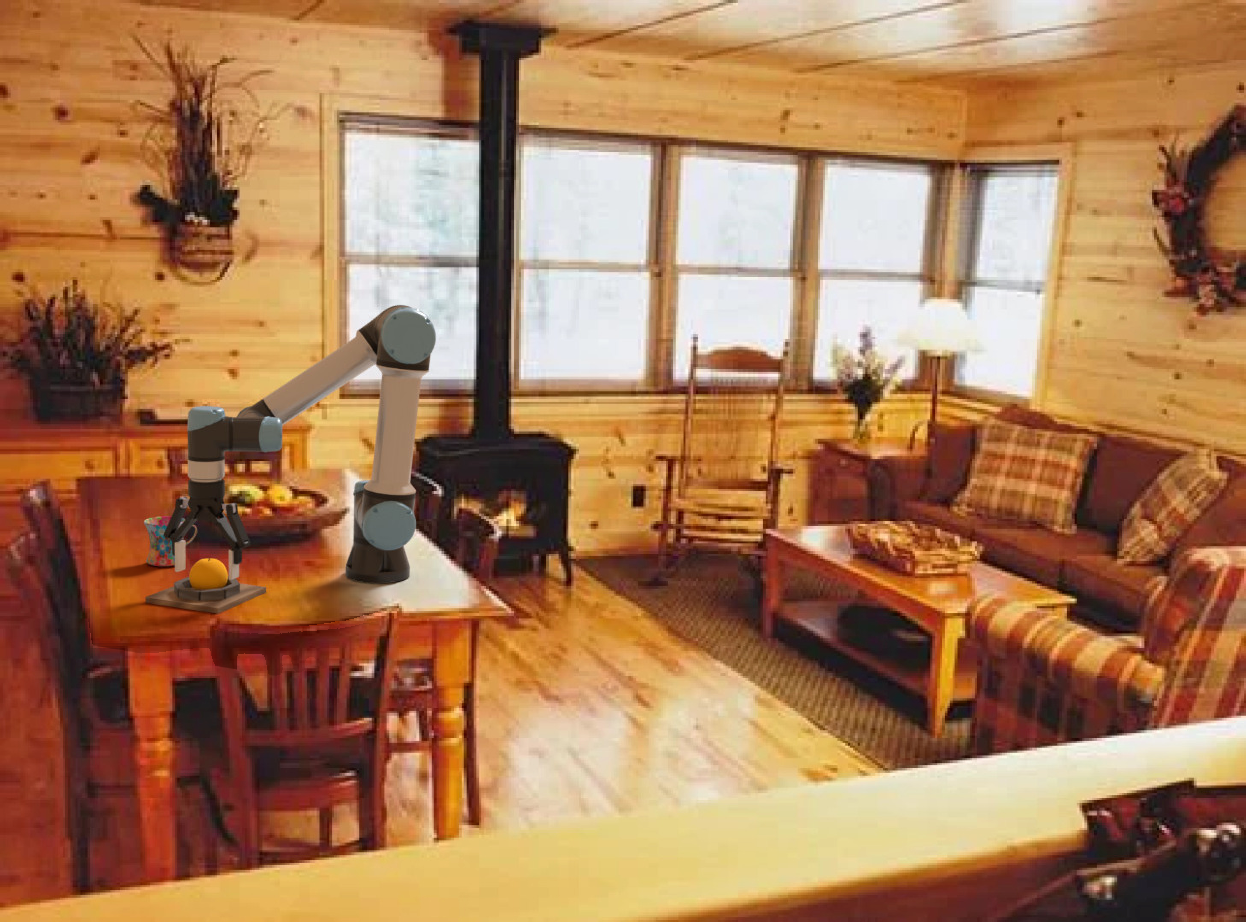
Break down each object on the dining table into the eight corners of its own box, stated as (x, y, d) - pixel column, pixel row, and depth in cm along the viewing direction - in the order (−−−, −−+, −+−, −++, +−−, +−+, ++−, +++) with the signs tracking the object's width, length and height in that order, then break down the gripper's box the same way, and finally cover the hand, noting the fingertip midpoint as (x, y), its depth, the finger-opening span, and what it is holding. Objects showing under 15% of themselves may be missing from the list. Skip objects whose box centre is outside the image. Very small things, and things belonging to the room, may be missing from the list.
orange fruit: (181, 592, 268) (181, 559, 267) (205, 585, 276) (205, 552, 275) (211, 598, 266) (211, 564, 264) (235, 590, 273) (235, 557, 272)
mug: (147, 570, 289) (147, 526, 288) (141, 560, 297) (141, 517, 295) (201, 566, 295) (200, 522, 293) (193, 556, 303) (193, 514, 301)
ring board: (266, 592, 277) (266, 578, 276) (218, 613, 260) (218, 598, 259) (196, 582, 282) (196, 568, 281) (145, 602, 265) (145, 588, 264)
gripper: (266, 481, 266) (266, 577, 270) (168, 470, 273) (169, 563, 277) (246, 487, 259) (246, 585, 263) (145, 475, 266) (147, 571, 270)
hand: (206, 574), depth 270 cm, fingers open, 13 cm apart
